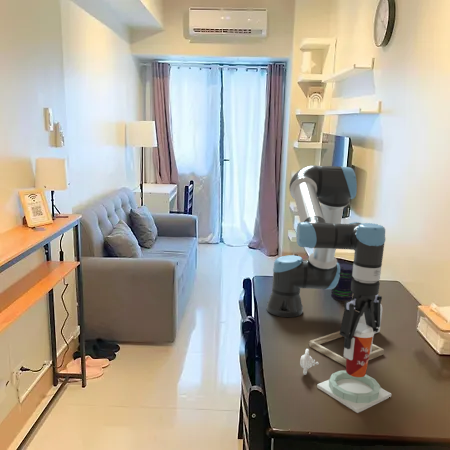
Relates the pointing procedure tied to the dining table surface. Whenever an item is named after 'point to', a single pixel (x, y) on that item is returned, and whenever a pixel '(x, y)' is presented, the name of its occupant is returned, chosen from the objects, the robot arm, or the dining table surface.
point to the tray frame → (315, 345)
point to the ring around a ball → (307, 362)
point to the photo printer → (362, 320)
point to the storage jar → (343, 283)
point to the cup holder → (354, 390)
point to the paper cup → (360, 351)
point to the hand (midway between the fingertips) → (357, 354)
